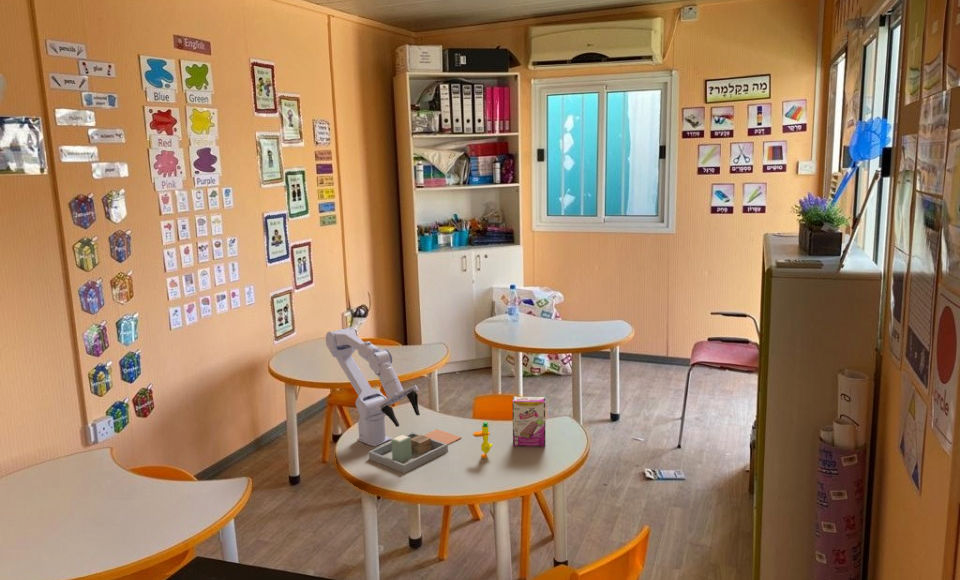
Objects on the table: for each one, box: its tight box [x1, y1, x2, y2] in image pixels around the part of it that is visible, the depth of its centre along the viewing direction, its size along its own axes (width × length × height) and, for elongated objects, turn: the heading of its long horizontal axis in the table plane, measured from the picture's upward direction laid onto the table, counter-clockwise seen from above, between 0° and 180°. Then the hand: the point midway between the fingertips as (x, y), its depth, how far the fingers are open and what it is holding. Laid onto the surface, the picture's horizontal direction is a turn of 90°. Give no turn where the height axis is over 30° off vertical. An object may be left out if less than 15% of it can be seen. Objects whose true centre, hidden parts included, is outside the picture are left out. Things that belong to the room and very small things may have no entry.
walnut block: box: [411, 434, 432, 455], centre depth 235 cm, size 5×5×4 cm
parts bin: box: [368, 432, 449, 474], centre depth 231 cm, size 17×20×2 cm
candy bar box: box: [512, 396, 547, 448], centre depth 235 cm, size 11×5×16 cm, turn 84°
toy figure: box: [472, 421, 494, 459], centre depth 227 cm, size 7×4×12 cm, turn 100°
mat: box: [423, 429, 462, 446], centre depth 244 cm, size 12×9×1 cm
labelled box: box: [390, 434, 413, 463], centre depth 228 cm, size 4×5×7 cm
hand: (407, 420), depth 226 cm, fingers open, 7 cm apart
